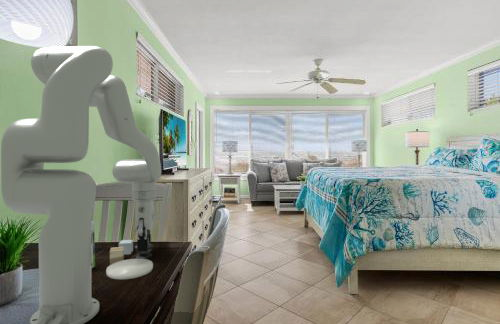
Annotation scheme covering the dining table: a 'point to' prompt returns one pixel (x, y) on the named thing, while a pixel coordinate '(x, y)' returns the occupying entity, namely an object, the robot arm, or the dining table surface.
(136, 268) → the cream plate
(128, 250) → the blue-grey block
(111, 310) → the dining table surface
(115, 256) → the birch block
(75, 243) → the robot arm
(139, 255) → the dark grey tall piece
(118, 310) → the dining table surface
